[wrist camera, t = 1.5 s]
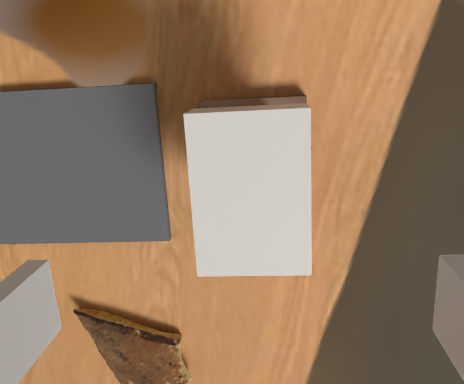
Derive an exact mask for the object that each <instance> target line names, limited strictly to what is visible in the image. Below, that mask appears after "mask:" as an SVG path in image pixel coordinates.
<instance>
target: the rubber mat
mask: <svg viewBox="0 0 464 384" xmlns="http://www.w3.org/2000/svg"><path fill="white" fill-rule="evenodd" d="M170 239H171V232H170V222H169V212H168V203H167V193H166V183H165V173H164V164H163V154H162V144H161V135H160V125H159V115H158V105H157V96H156V86H155V83H151V84H133V85H115V86H97V87H79V88H61V89H43V90H26V91H8V92H0V244H34V243H85V242H137V241H170Z"/></svg>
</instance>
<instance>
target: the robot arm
mask: <svg viewBox="0 0 464 384" xmlns="http://www.w3.org/2000/svg"><path fill="white" fill-rule="evenodd" d="M435 298H436V299H435V308H434V319H433V331H434V333H435V335H436V336H437V338H438V340H439V341H440V343H441V345H442V346H443V348H444V349H445V351H446V353H447V354H448V356H449V358H450V359H451V361H452V363H453V364H454V366H455V368H456V369H457V371H458V373H459V374H460V376H461V377H462V379H463V381H464V255H439V264H438V275H437V286H436V297H435ZM61 328H62V326H61V321H60V316H59V311H58V306H57V301H56V296H55V290H54V285H53V280H52V275H51V270H50V265H49V260H27V261H26V262H25V263H24V264H22V265H21V266H20V267H19V268H17V269H16V270H15V271H14V272H13V273H11V274H10V275H9V276H8V277H6V278H5V279H4V280H3V281H1V282H0V384H18V383H19V381H20V380H21V379H22V378H23V376H24V375H25V374H26V373H27V371H28V370H29V369H30V368H31V366H32V365H33V364H34V362H35V361H36V360H37V359H38V357H39V356H40V355H41V354H42V352H43V351H44V350H45V349H46V347H47V346H48V345H49V344H50V342H51V341H52V340H53V339H54V337H55V336H56V335H57V333H58V332H59V331H60V330H61Z"/></svg>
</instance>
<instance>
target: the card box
mask: <svg viewBox="0 0 464 384" xmlns="http://www.w3.org/2000/svg"><path fill="white" fill-rule="evenodd" d="M183 116H184V128H185V139H186V151H187V162H188V174H189V185H190V197H191V208H192V220H193V231H194V243H195V255H196V266H197V276H286V275H312V265H311V107H310V106H309V105H308V104H307V103H299V104H279V105H258V106H238V107H218V108H198V109H191V110H189V111H188V112H186V113H184V114H183Z"/></svg>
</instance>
